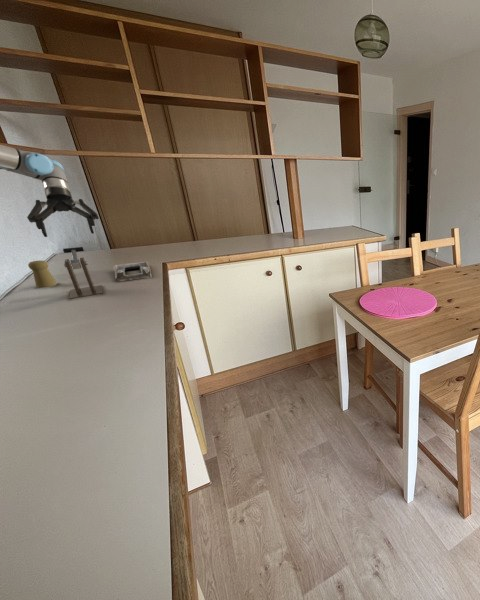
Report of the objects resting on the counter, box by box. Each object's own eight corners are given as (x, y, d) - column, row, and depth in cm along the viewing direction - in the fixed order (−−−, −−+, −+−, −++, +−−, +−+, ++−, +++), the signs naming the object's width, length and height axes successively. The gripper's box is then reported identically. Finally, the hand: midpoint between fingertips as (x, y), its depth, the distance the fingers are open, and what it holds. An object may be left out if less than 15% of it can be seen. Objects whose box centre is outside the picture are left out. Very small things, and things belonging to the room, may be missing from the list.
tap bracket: (71, 292, 122) (58, 258, 117) (102, 287, 128) (90, 254, 123) (70, 301, 114) (55, 264, 109) (103, 295, 120) (90, 260, 115)
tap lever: (64, 252, 122) (62, 247, 121) (84, 250, 125) (81, 245, 124) (67, 270, 115) (64, 264, 114) (87, 267, 118) (85, 262, 117)
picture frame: (149, 266, 158) (147, 261, 157) (154, 278, 141) (152, 272, 139) (114, 271, 150) (112, 265, 149) (115, 284, 132) (113, 277, 131)
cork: (32, 288, 125) (20, 262, 121) (51, 284, 131) (40, 258, 127) (43, 290, 124) (32, 263, 120) (62, 285, 130) (51, 259, 126)
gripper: (99, 197, 142) (111, 235, 137) (17, 199, 126) (27, 242, 121) (95, 185, 136) (108, 224, 132) (8, 186, 121) (19, 230, 116)
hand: (69, 233), depth 127 cm, fingers open, 13 cm apart
